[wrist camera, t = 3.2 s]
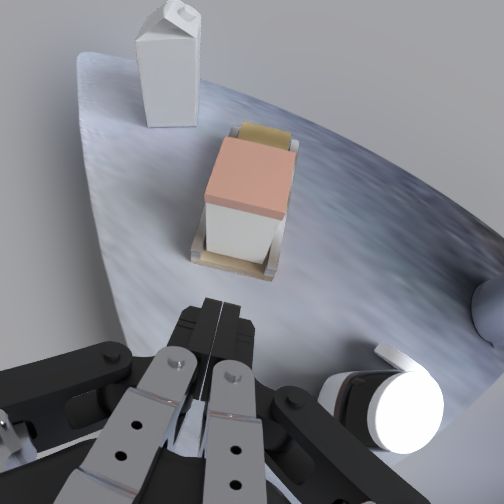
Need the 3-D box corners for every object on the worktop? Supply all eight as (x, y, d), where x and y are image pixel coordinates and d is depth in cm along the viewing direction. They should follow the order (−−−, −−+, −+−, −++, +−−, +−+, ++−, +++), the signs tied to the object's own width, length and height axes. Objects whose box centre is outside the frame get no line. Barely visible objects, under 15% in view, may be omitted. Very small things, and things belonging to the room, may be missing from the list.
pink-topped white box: (219, 202, 36) (225, 136, 26) (273, 215, 36) (296, 152, 26) (205, 251, 34) (204, 193, 24) (263, 265, 34) (285, 213, 24)
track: (230, 142, 42) (233, 113, 37) (294, 157, 42) (303, 130, 37) (191, 262, 35) (188, 241, 30) (271, 281, 35) (281, 263, 30)
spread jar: (302, 437, 29) (346, 460, 18) (320, 335, 33) (368, 312, 23) (398, 440, 29) (464, 452, 19) (410, 349, 34) (476, 330, 23)
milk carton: (147, 128, 42) (131, 12, 24) (155, 97, 44) (145, -8, 27) (196, 127, 43) (197, 8, 25) (199, 97, 45) (203, -11, 28)
